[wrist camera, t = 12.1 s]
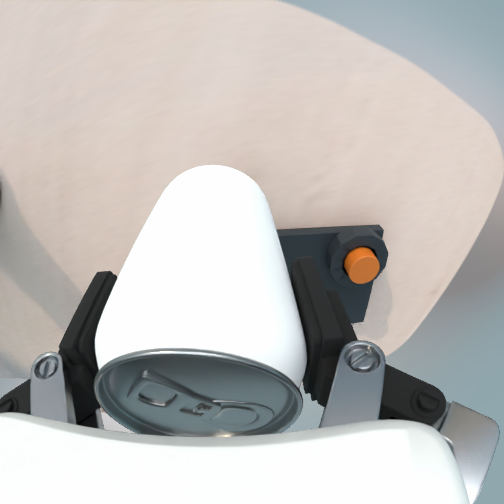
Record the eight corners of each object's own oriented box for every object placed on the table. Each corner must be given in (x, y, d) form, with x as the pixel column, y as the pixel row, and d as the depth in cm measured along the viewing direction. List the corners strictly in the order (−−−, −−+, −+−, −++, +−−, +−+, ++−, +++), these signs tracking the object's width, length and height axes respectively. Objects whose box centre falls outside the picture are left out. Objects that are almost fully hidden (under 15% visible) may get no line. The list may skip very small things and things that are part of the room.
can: (230, 279, 19) (235, 462, 9) (141, 232, 17) (66, 412, 7) (291, 201, 17) (370, 386, 7) (193, 140, 15) (110, 284, 4)
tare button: (342, 274, 29) (347, 285, 27) (345, 247, 27) (351, 257, 26) (370, 272, 29) (376, 282, 27) (375, 245, 27) (382, 255, 26)
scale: (235, 326, 36) (235, 345, 33) (223, 227, 29) (222, 243, 26) (360, 315, 36) (368, 332, 33) (380, 219, 29) (392, 233, 26)
